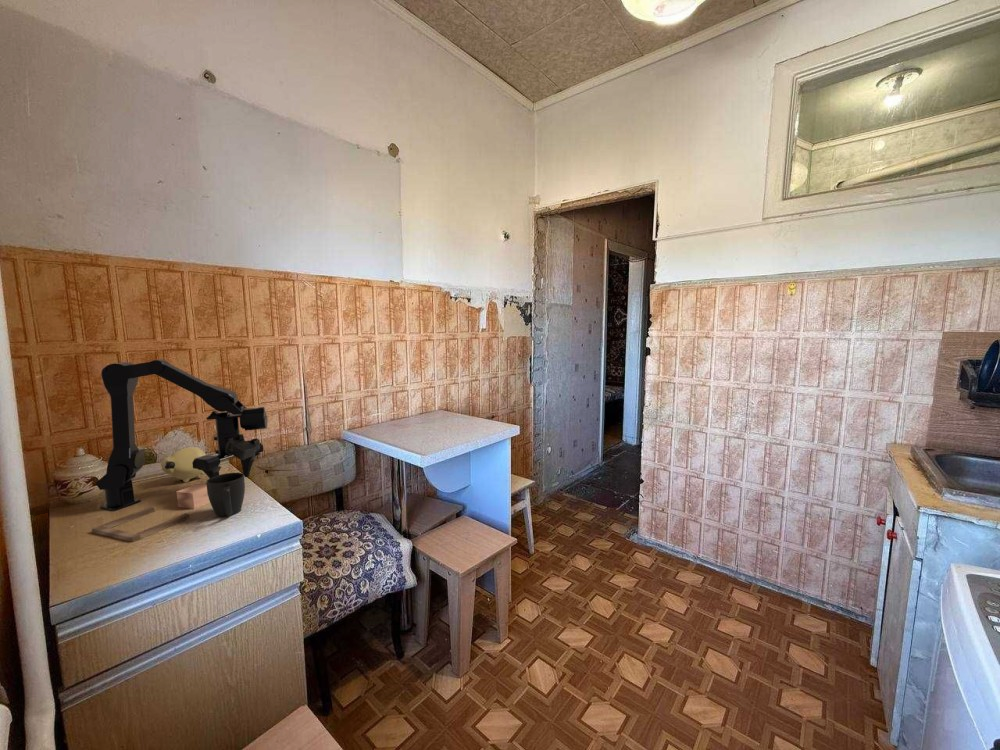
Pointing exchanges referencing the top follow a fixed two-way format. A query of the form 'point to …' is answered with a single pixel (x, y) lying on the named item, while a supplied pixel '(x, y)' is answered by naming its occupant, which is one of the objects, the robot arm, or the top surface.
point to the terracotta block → (193, 496)
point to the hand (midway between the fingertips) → (232, 482)
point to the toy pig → (183, 464)
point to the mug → (226, 493)
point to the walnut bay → (108, 531)
